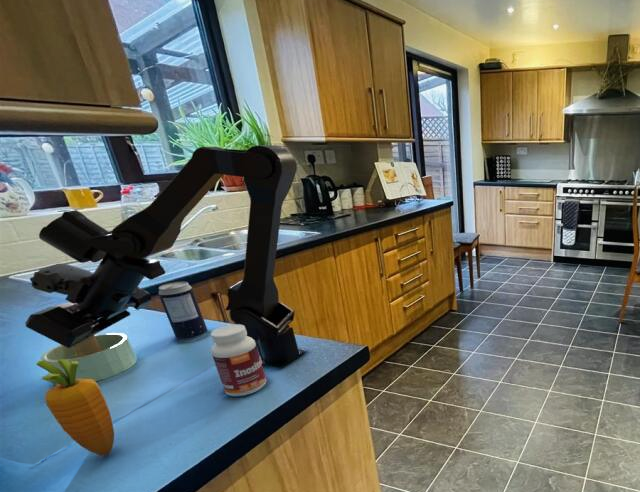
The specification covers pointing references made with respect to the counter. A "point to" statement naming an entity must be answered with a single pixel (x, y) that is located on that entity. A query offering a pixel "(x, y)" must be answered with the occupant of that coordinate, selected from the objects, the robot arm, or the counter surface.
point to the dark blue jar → (182, 310)
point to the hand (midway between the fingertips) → (74, 341)
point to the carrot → (79, 407)
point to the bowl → (97, 357)
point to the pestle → (86, 345)
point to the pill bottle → (237, 360)
